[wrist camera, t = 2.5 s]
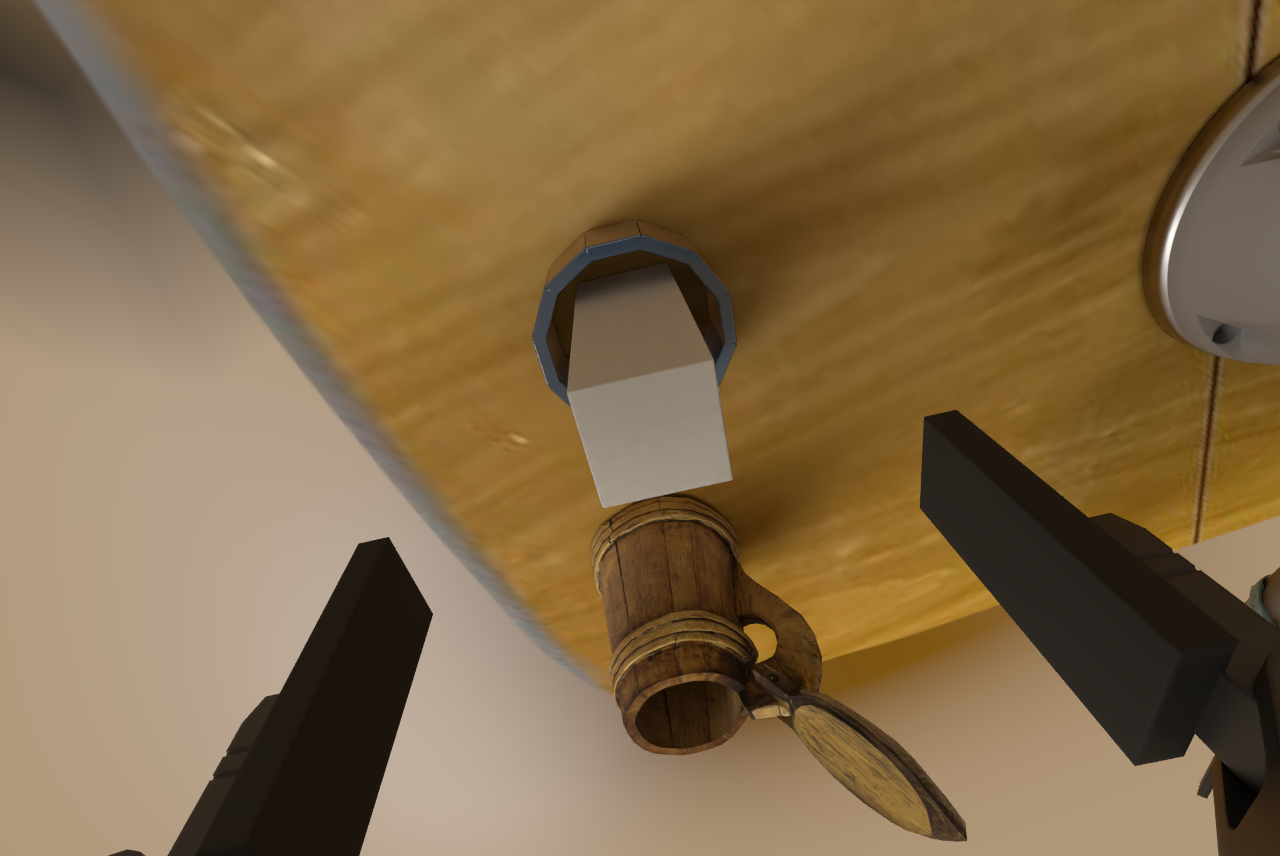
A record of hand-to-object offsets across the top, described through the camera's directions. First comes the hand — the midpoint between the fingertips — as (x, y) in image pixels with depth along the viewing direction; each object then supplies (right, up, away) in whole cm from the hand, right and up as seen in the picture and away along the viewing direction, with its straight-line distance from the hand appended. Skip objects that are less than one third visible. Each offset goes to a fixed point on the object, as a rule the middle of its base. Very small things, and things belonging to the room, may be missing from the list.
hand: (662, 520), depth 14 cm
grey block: (-1, +8, +14) cm, 16 cm away
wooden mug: (+3, -5, +22) cm, 22 cm away
